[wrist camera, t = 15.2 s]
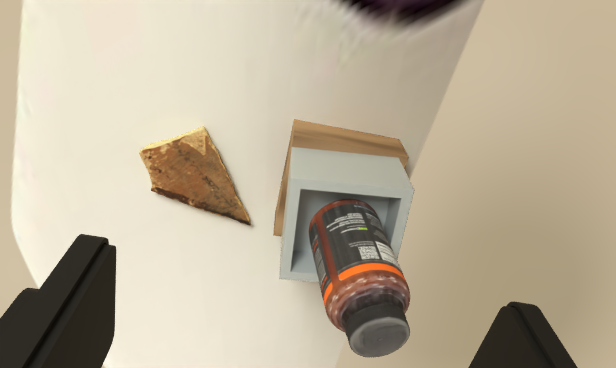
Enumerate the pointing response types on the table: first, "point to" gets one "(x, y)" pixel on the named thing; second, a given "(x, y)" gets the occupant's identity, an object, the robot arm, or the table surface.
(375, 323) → the supplement bottle
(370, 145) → the tower bottom
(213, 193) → the shard
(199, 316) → the table surface
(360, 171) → the tower top
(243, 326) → the table surface
